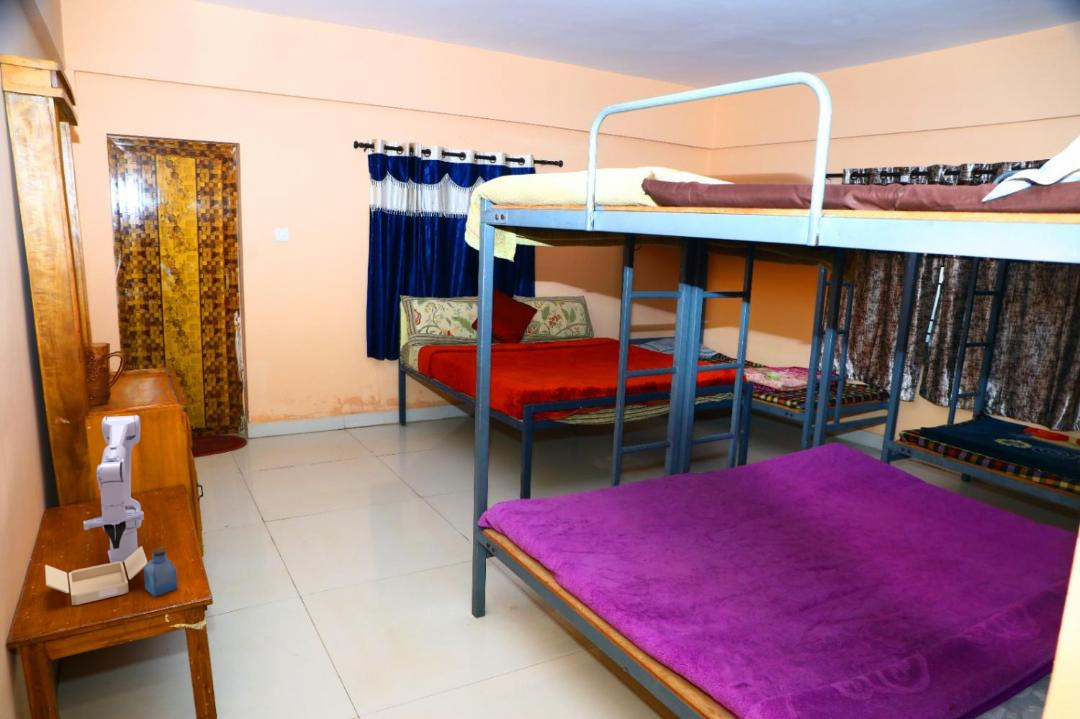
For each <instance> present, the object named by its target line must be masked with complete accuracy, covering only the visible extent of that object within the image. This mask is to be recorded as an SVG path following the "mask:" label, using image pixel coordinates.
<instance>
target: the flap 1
mask: <svg viewBox="0 0 1080 719" xmlns="http://www.w3.org/2000/svg"><path fill="white" fill-rule="evenodd" d="M44 570H45V575H44V576H45V586H46V587H49V588H52V589H54V590H57V591H60V592H63V593H64V594H65V593H66V594H69V593H70V585H69V577H68V573H67V572H65V571H63V570H60V569H58V568H56V567H53V566H50V565H48V564H45V565H44Z"/></svg>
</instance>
